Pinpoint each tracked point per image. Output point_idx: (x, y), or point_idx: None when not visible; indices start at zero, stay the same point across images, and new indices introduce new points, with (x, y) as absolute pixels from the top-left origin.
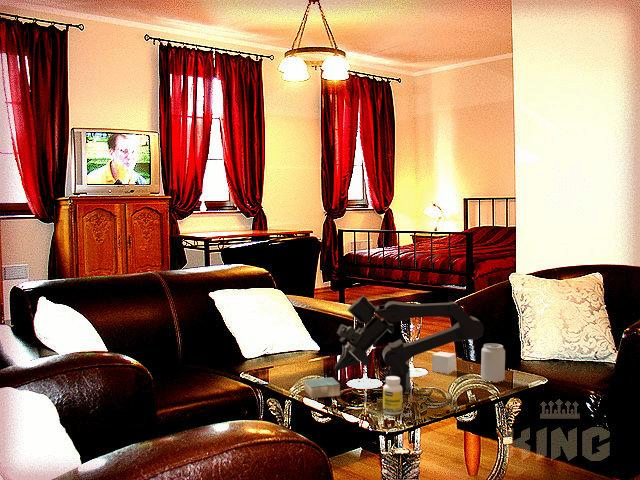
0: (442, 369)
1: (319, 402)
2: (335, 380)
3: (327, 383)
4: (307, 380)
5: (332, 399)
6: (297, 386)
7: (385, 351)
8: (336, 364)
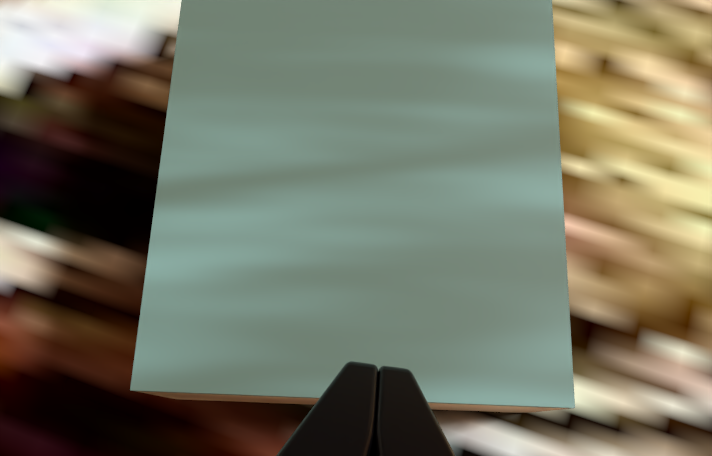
0: None
1: (20, 79)
2: None
3: (249, 217)
4: (524, 15)
5: (61, 251)
6: (684, 28)
7: None
8: (413, 432)
